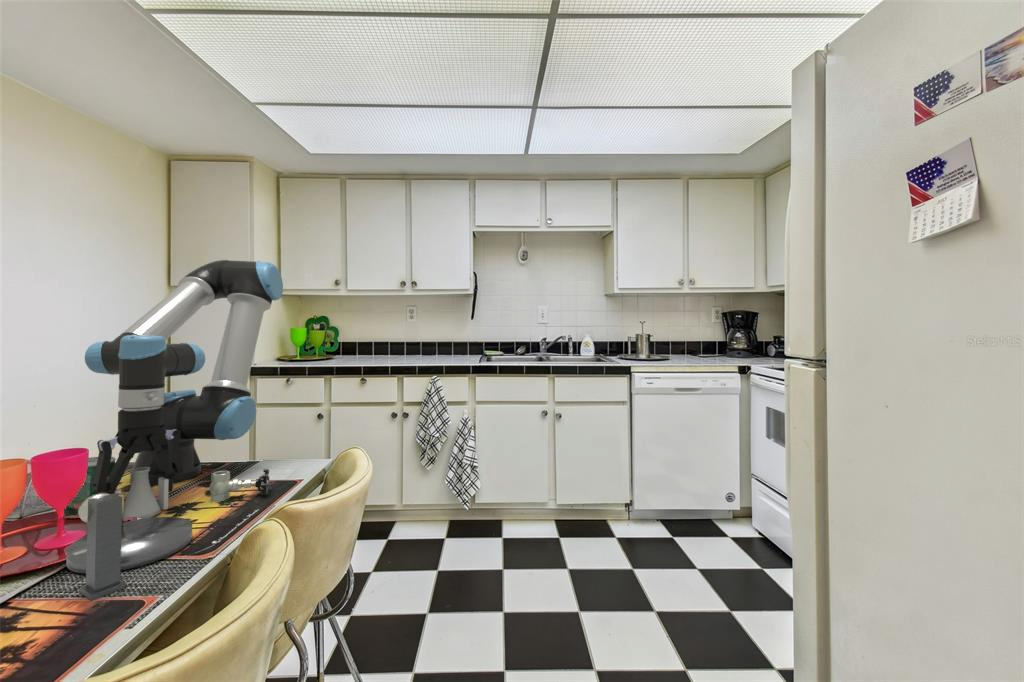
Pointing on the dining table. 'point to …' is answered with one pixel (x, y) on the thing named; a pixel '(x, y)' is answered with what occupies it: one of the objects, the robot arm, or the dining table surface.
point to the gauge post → (102, 544)
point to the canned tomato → (86, 487)
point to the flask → (141, 496)
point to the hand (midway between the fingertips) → (139, 514)
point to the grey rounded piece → (139, 541)
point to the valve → (234, 485)
